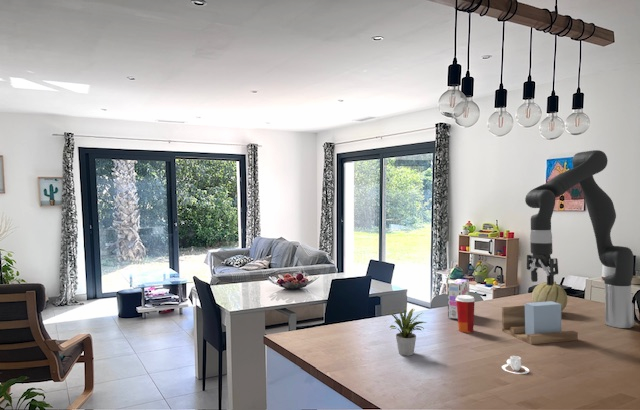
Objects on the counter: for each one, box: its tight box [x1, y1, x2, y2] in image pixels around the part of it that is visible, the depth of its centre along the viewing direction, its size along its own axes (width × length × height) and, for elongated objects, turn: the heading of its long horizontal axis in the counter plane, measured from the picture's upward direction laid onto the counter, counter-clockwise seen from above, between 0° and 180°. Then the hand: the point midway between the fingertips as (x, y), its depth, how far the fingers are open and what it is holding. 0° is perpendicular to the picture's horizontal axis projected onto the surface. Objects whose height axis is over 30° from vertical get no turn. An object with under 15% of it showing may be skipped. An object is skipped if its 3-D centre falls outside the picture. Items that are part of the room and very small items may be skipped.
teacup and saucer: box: [501, 355, 530, 375], centre depth 132 cm, size 9×8×4 cm
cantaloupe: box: [531, 281, 568, 312], centre depth 198 cm, size 15×15×15 cm
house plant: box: [388, 305, 428, 356], centre depth 147 cm, size 14×14×16 cm
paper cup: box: [455, 294, 476, 334], centre depth 173 cm, size 8×8×14 cm
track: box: [501, 304, 579, 345], centre depth 165 cm, size 17×20×10 cm
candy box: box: [447, 278, 470, 321], centre depth 195 cm, size 14×6×16 cm, turn 143°
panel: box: [524, 301, 563, 335], centre depth 163 cm, size 12×5×12 cm, turn 101°
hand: (542, 283), depth 163 cm, fingers open, 8 cm apart
